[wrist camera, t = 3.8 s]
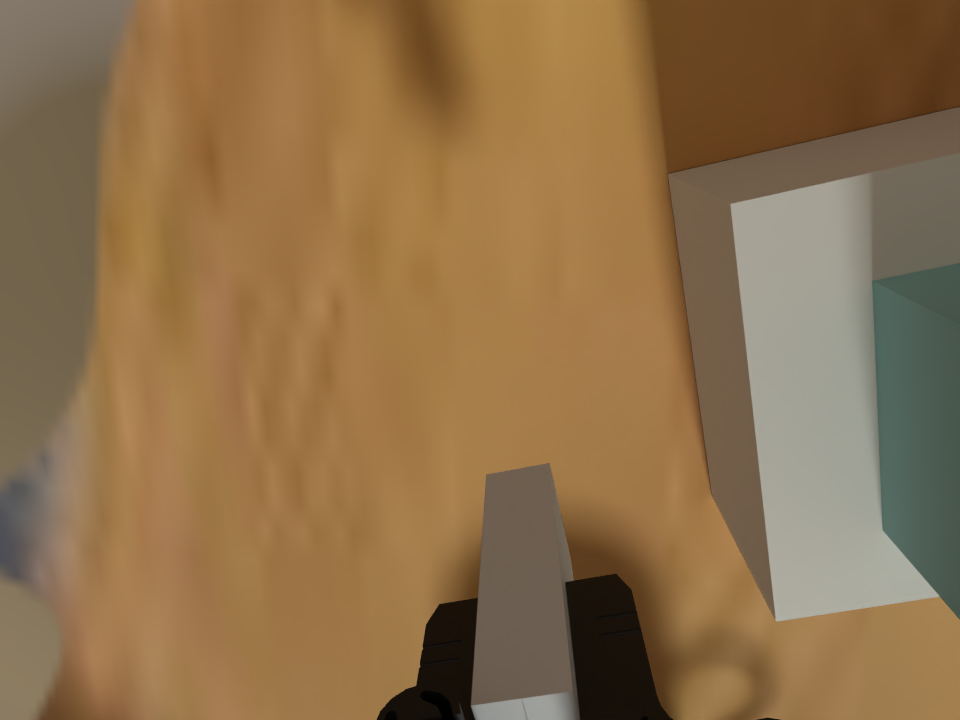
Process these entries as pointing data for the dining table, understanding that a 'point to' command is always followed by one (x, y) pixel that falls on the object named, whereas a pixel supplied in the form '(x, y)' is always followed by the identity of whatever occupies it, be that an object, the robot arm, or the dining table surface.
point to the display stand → (809, 345)
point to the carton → (921, 420)
